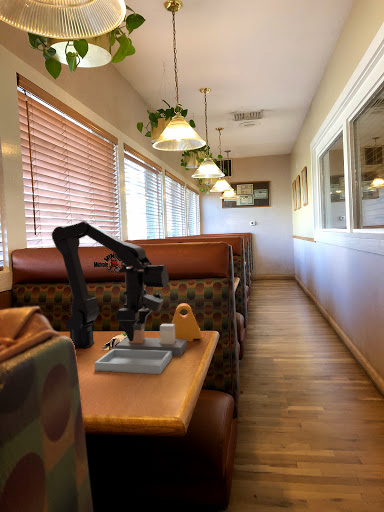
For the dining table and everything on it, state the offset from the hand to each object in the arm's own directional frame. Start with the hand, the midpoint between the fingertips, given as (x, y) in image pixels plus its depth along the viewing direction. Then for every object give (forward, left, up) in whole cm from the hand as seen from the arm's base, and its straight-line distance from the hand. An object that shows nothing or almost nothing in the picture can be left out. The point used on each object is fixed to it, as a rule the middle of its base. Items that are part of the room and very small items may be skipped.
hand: (136, 336), depth 116 cm
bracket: (+12, +14, -4) cm, 19 cm away
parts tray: (+4, -13, -4) cm, 14 cm away
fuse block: (+5, 0, -4) cm, 6 cm away
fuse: (+10, 0, -4) cm, 11 cm away
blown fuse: (0, 0, -4) cm, 4 cm away
